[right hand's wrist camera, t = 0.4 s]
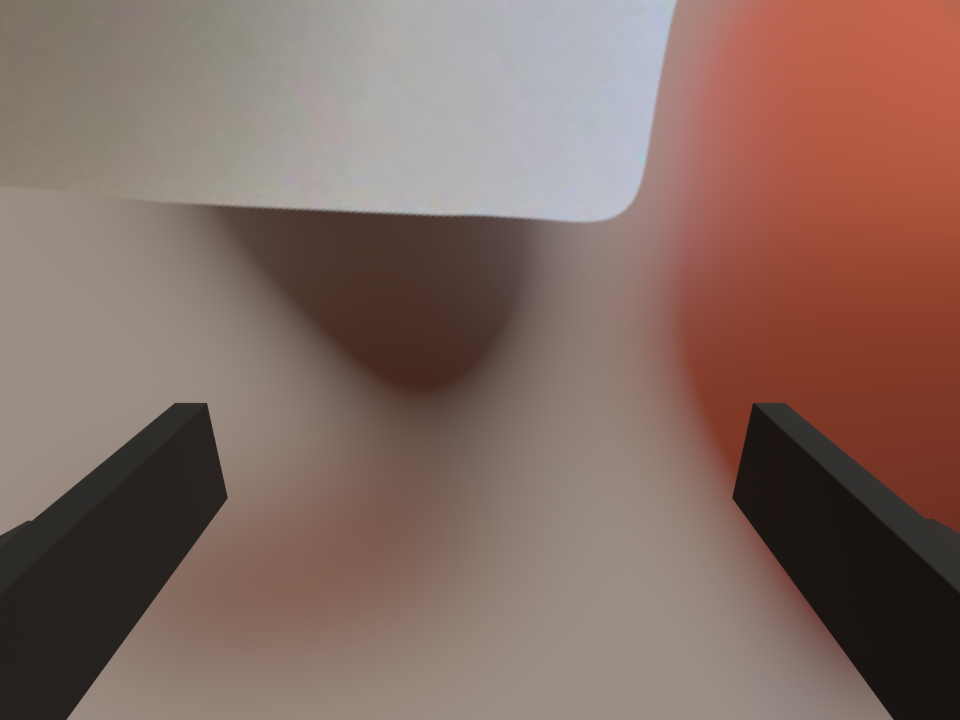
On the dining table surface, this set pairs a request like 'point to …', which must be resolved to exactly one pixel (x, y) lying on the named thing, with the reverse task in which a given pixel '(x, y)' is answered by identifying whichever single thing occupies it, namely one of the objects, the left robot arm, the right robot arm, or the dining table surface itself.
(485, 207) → the dining table surface
